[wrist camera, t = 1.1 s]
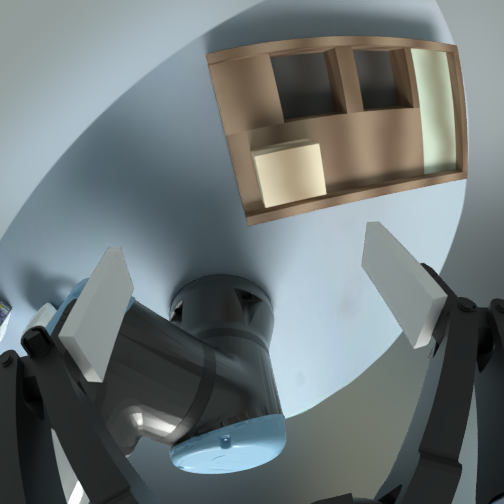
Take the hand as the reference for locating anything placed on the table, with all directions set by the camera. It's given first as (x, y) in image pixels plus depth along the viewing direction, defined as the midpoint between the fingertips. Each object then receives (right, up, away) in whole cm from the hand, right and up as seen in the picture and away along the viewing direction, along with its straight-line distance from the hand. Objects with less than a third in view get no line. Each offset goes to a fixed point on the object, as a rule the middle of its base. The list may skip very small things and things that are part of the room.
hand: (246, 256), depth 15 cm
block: (+3, +9, +15) cm, 18 cm away
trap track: (+12, +17, +16) cm, 26 cm away
